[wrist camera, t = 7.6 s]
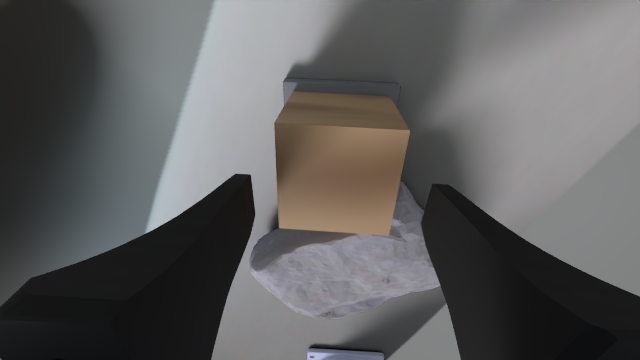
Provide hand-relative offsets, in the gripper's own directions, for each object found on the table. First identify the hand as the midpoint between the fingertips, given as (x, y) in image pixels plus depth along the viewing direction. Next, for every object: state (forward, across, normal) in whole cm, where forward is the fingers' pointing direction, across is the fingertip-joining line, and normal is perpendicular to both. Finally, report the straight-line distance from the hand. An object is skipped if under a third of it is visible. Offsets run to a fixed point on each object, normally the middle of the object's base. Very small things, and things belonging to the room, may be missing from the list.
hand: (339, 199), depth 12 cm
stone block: (+6, -2, +9) cm, 11 cm away
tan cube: (+6, 0, 0) cm, 6 cm away
